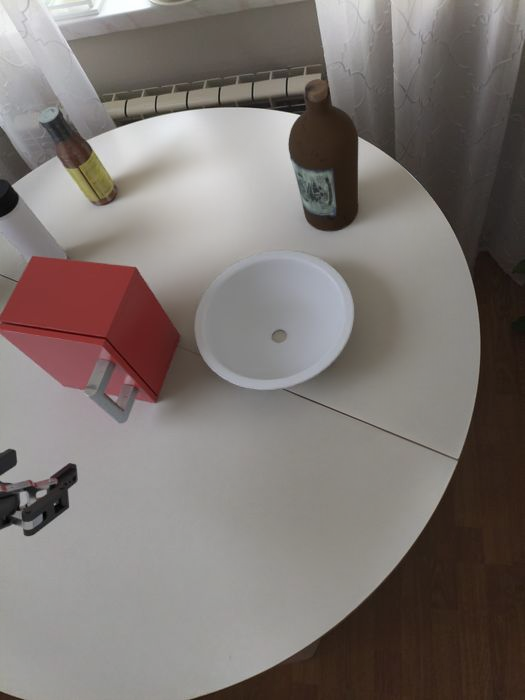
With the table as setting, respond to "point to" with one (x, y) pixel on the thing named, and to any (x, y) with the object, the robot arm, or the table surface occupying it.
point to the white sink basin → (274, 320)
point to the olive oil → (325, 160)
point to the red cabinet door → (83, 367)
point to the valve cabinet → (97, 311)
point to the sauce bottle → (78, 158)
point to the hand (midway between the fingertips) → (43, 462)
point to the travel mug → (25, 227)
